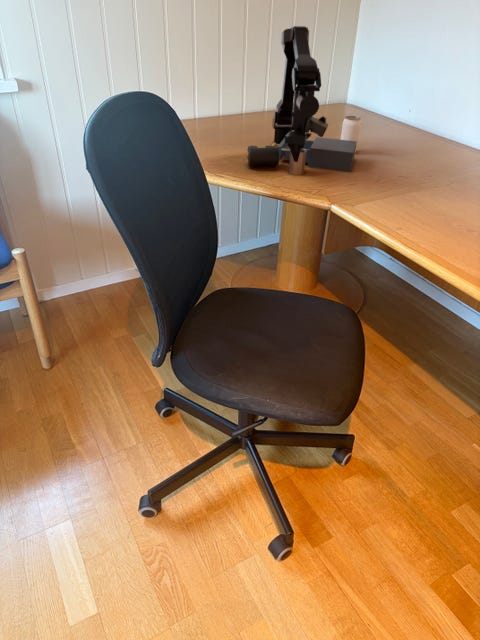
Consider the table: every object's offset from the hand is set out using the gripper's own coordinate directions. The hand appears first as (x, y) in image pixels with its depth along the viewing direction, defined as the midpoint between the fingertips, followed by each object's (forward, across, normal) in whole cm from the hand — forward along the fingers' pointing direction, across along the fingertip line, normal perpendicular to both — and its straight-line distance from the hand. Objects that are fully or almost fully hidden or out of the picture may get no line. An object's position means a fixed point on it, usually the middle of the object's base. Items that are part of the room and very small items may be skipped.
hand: (297, 159), depth 161 cm
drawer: (+4, +14, +4) cm, 15 cm away
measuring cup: (+4, 0, +1) cm, 5 cm away
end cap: (+5, +1, +12) cm, 13 cm away
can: (+5, +30, -14) cm, 33 cm away
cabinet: (+4, +14, -10) cm, 18 cm away
